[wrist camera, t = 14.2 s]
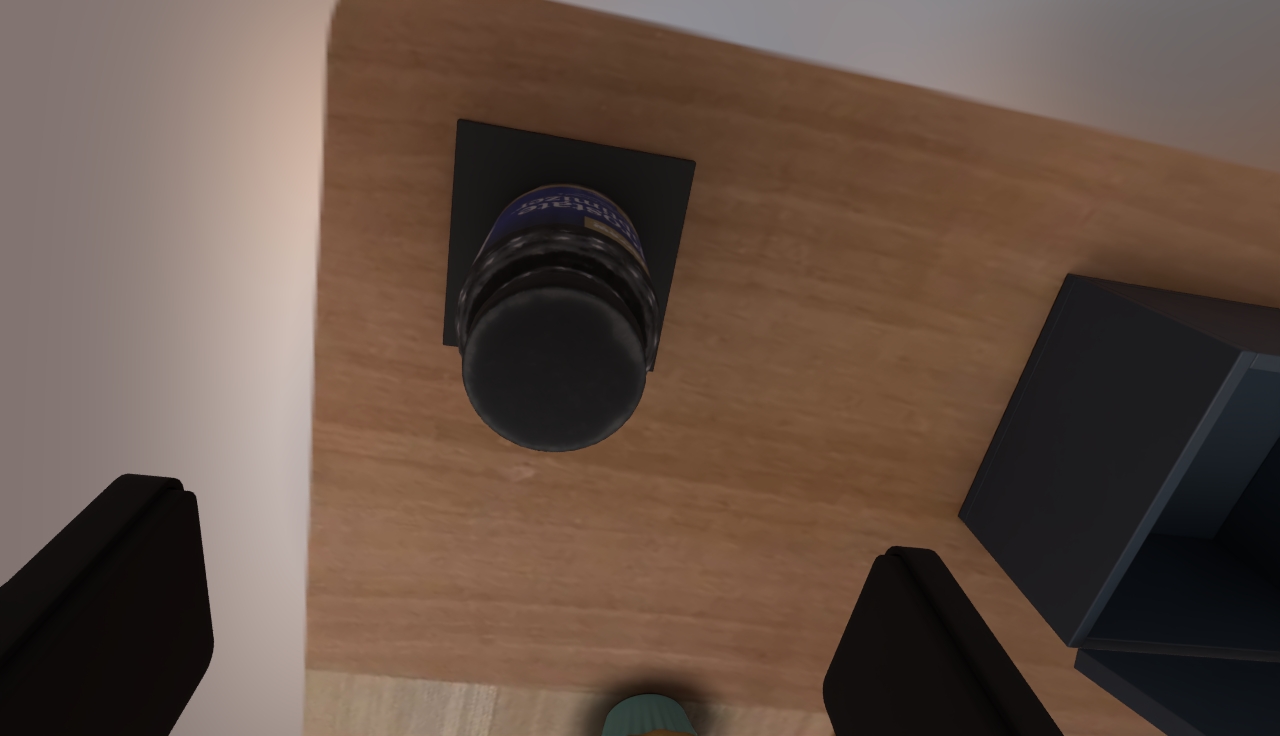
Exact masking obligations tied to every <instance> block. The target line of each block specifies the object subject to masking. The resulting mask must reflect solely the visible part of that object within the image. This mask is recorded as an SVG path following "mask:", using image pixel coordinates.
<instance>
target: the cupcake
mask: <svg viewBox="0 0 1280 736" xmlns="http://www.w3.org/2000/svg"><path fill="white" fill-rule="evenodd" d="M602 736H698V735H697V734H696V732H695V730H694V729H693V727H692V725H691V723H690V721H689V720H688V718H687V716H686V714H685V712H684V710H683V708H682V707H681V706H680V705H679V704H678V703H677V702H676V701H674V700H673V699H671V698H668V697H666V696H662V695H657V694H643V695H637V696H633V697H630V698H628V699H626V700H624V701H622V702H620V703H619V704H617V705H616V706H615V707H614V708H613V709H612V710H611V711H610V712H609V714H608V716H607V718H606V721H605V724H604V728H603V732H602Z"/></svg>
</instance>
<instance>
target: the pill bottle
mask: <svg viewBox="0 0 1280 736" xmlns="http://www.w3.org/2000/svg"><path fill="white" fill-rule="evenodd" d="M455 304H456V309H455V321H454V322H455V324H454V326H455V337H456V342H457V345H458V347H459V353H460V355H461V357H462V376H463V382H464V386H465V390H466V392H467V395H468V397H469V400H470V402H471V404H472V406H473V408H474V409H475V411H476V412H477V414H478V415H479V416H480V417H481V419H482V420H483V421H484V422H485V423H486V424H487V425H488V426H489V427H490V428H491V429H492V430H493V431H495V432H496V433H498V434H499V435H500V436H502V437H503V438H505V439H507V440H509V441H512V442H513V443H515V444H517V445H519V446H522V447H526V448H529V449H533V450H538V451H545V452H547V451H549V452H565V451H574V450H578V449H582V448H585V447H588V446H591V445H594V444H597V443H598V442H600V441H602V440H604V439H606V438H607V437H609V436H610V435H612V434H613V433H615V432H616V431H617V430H618V429H619V428H620V427H622V426H623V424H624V423H625V422H626V421H627V420H628V419H629V418H630V417H631V415H632V414H633V412H634V410H635V409H636V407H637V405H638V403H639V401H640V399H641V397H642V393H643V390H644V387H645V383H646V374H647V372H648V370H649V369H650V368H651V365H652V363H653V360H654V358H655V355H656V353H657V349H658V343H659V341H660V334H661V332H660V330H661V314H660V308H659V303H658V298H657V295H656V293H655V289H654V286H653V283H652V280H651V276H650V273H649V270H648V266H647V263H646V260H645V256H644V253H643V250H642V247H641V243H640V240H639V237H638V235H637V232H636V230H635V228H634V226H633V224H632V222H631V220H630V218H629V216H628V215H627V213H626V212H625V210H624V209H623V208H622V207H621V206H619V205H618V204H617V203H615V202H614V201H613V200H612V199H611V198H610V197H608V196H607V195H605V194H603V193H601V192H599V191H597V190H595V189H593V188H591V187H588V186H585V185H580V184H575V183H559V182H556V183H549V184H545V185H542V186H540V187H538V188H536V189H534V190H532V191H529V192H527V193H525V194H523V195H521V196H519V197H518V198H516V199H514V200H513V201H512V202H510V203H509V204H508V205H507V206H506V207H505V208H504V209H503V211H502V212H501V214H500V215H499V217H498V218H497V220H496V222H495V223H494V225H493V227H492V229H491V231H490V233H489V235H488V236H487V238H486V240H485V242H484V244H483V246H482V248H481V250H480V252H479V254H478V255H477V257H476V259H475V261H474V263H473V265H472V266H471V268H470V270H469V272H468V273H467V275H466V276H465V278H464V282H463V284H462V287H461V289H460V291H459V293H458V295H457V299H456V303H455Z"/></svg>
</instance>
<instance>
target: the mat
mask: <svg viewBox="0 0 1280 736" xmlns="http://www.w3.org/2000/svg"><path fill="white" fill-rule="evenodd" d="M695 166H696V162H695V161H692V160H686V159H680V158H675V157H669V156H664V155H658V154H652V153H647V152H641V151H636V150H630V149H624V148H619V147H613V146H608V145H602V144H597V143H591V142H585V141H580V140H574V139H569V138H563V137H557V136H552V135H546V134H541V133H535V132H529V131H524V130H518V129H513V128H507V127H502V126H496V125H490V124H485V123H479V122H474V121H468V120H462V119H459V120H458V121H457V135H456V150H455V165H454V181H453V196H452V211H451V226H450V241H449V256H448V272H447V287H446V302H445V317H444V332H443V345H448V346H456V347H458V345H457V342H456V337H455V326H454V324H455V322H454V321H455V309H456V304H455V303H456V299H457V295H458V293H459V291H460V289H461V287H462V284H463V282H464V278H465V276H466V275H467V273H468V272H469V270H470V268H471V266H472V265H473V263H474V261H475V259H476V257H477V255H478V254H479V252H480V250H481V248H482V246H483V244H484V242H485V240H486V238H487V236H488V235H489V233H490V231H491V229H492V227H493V225H494V223H495V222H496V220H497V218H498V217H499V215H500V214H501V212H502V211H503V209H504V208H505V207H506V206H507V205H508V204H509V203H510V202H512V201H513V200H514V199H516V198H518V197H519V196H521V195H523V194H525V193H527V192H529V191H532V190H534V189H536V188H538V187H540V186H542V185H545V184H549V183H556V182H559V183H575V184H580V185H585V186H588V187H591V188H593V189H595V190H597V191H599V192H601V193H603V194H605V195H607V196H608V197H610V198H611V199H612V200H613V201H614V202H615V203H617V204H618V205H619V206H621V207H622V208H623V209H624V210H625V212H626V213H627V215H628V216H629V218H630V220H631V222H632V224H633V226H634V228H635V230H636V232H637V235H638V237H639V240H640V243H641V247H642V250H643V253H644V256H645V260H646V263H647V266H648V270H649V273H650V276H651V280H652V283H653V286H654V289H655V293H656V295H657V298H658V303H659V308H660V314H661V330H662V325H663V321H664V316H665V311H666V306H667V301H668V296H669V292H670V287H671V282H672V277H673V272H674V267H675V263H676V258H677V253H678V248H679V243H680V238H681V234H682V229H683V224H684V219H685V214H686V209H687V205H688V200H689V195H690V190H691V185H692V180H693V176H694V171H695ZM661 330H660V332H661ZM660 335H661V334H660ZM658 345H659V343H658ZM657 350H658V349H657ZM656 354H657V353H656ZM655 359H656V355H655V358H654V360H653V363H652V365H651V368H650V369H649V370H648V371H651V372H653V369H654V364H655Z"/></svg>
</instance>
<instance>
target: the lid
mask: <svg viewBox="0 0 1280 736" xmlns="http://www.w3.org/2000/svg"><path fill="white" fill-rule="evenodd" d="M1074 668H1075V669H1077V670H1078V671H1079V672H1081V673H1082V674H1084V675H1085V676H1086V677H1088V678H1089V679H1090V680H1092V681H1093V682H1095V683H1096V684H1097V685H1099V686H1100V687H1102V688H1103V689H1104V690H1106V691H1107V692H1108V693H1110V694H1111V695H1113V696H1114V697H1115V698H1117V699H1118V700H1119V701H1121V702H1122V703H1124V704H1125V705H1126V706H1128V707H1129V708H1131V709H1132V710H1133V711H1135V712H1136V713H1137V714H1139V715H1140V716H1142V717H1143V718H1144V719H1146V720H1147V721H1148V722H1150V723H1151V724H1153V725H1154V726H1155V727H1157V728H1158V729H1160V730H1161V731H1162V732H1164V733H1165V734H1166V735H1168V736H1280V662H1267V661H1253V660H1239V659H1225V658H1211V657H1197V656H1183V655H1169V654H1154V653H1140V652H1126V651H1112V650H1098V649H1084V648H1078V651H1077V655H1076V660H1075V665H1074Z"/></svg>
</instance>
